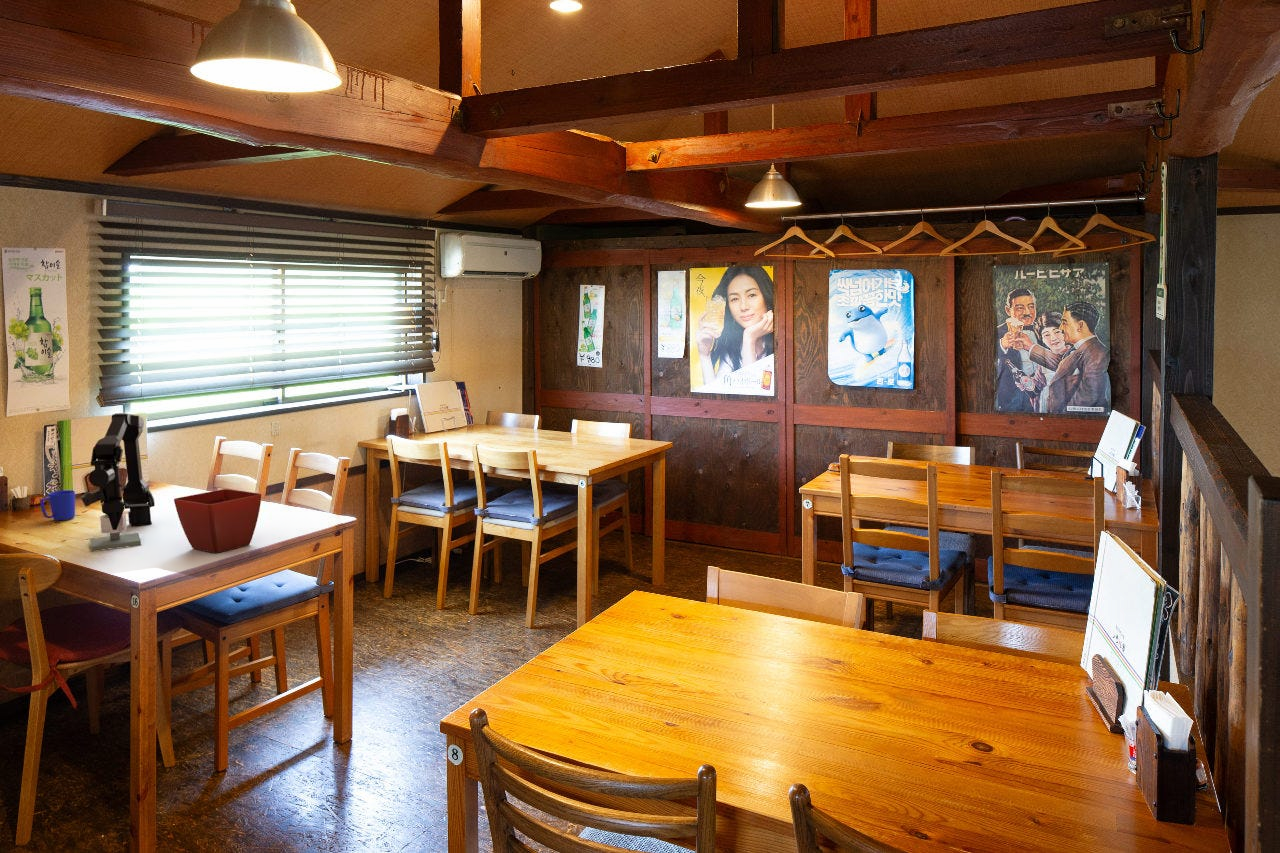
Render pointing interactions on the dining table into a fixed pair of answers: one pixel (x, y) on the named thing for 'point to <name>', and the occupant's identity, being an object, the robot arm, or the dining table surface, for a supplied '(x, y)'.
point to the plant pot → (219, 519)
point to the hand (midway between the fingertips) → (114, 527)
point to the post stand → (115, 541)
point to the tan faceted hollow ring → (107, 526)
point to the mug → (60, 505)
